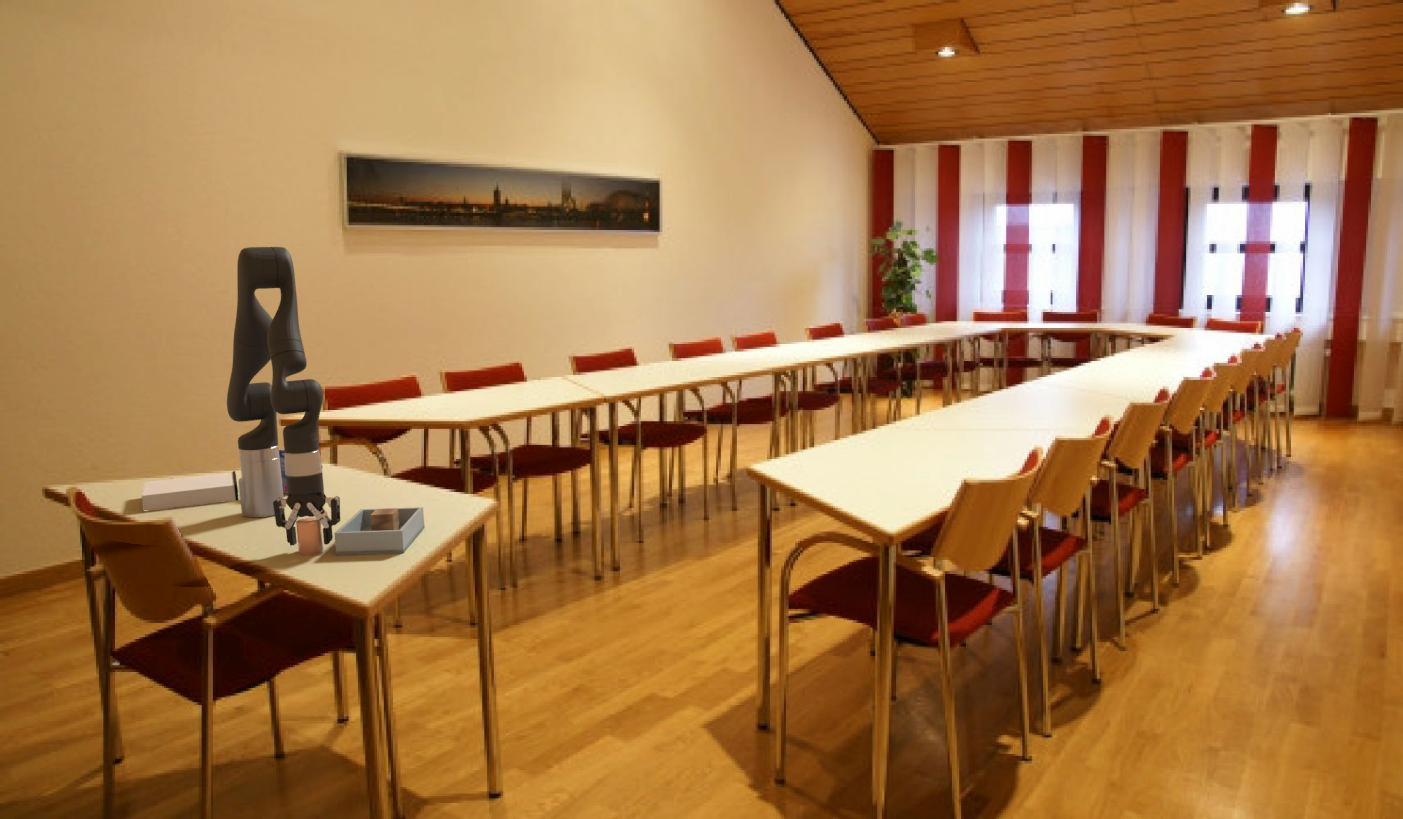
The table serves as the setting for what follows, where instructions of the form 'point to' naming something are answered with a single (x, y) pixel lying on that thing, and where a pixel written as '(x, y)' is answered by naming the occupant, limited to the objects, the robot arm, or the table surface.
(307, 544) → the orange round part
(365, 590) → the table surface
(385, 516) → the cube
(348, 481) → the table surface
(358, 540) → the tote
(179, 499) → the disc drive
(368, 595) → the table surface
